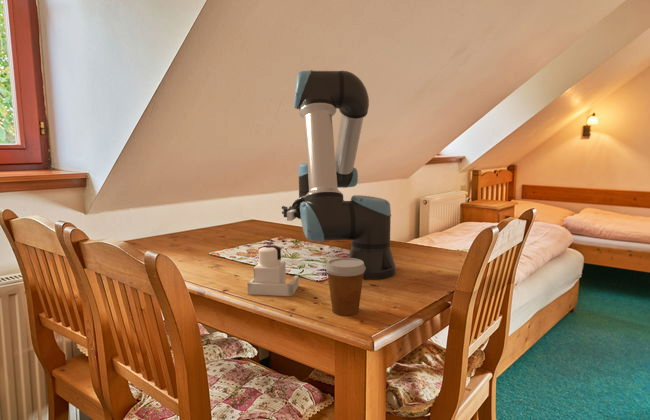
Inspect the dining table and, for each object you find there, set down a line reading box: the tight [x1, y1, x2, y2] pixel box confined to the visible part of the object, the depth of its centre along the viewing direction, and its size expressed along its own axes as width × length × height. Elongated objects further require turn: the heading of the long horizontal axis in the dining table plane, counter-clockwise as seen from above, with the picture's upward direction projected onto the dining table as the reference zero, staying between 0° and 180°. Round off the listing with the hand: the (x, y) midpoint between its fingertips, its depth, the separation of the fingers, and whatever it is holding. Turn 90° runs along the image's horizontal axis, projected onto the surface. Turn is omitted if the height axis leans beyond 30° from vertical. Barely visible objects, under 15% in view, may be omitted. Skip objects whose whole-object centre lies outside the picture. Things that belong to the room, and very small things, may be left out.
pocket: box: [246, 275, 300, 297], centre depth 132 cm, size 12×8×3 cm
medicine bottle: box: [253, 244, 287, 284], centre depth 132 cm, size 7×7×12 cm
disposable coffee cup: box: [324, 257, 366, 316], centre depth 115 cm, size 10×10×12 cm
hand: (289, 216), depth 151 cm, fingers closed
